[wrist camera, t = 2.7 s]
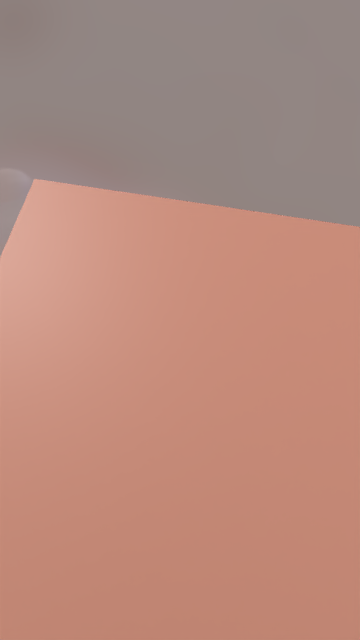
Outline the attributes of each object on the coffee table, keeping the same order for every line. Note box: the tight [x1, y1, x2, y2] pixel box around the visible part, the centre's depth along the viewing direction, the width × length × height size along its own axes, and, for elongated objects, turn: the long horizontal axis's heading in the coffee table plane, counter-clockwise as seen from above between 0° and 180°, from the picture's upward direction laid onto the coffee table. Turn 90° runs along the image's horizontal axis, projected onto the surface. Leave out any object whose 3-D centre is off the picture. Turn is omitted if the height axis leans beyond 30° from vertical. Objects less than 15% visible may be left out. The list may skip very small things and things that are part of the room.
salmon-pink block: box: [0, 179, 360, 640], centre depth 10 cm, size 5×5×14 cm
